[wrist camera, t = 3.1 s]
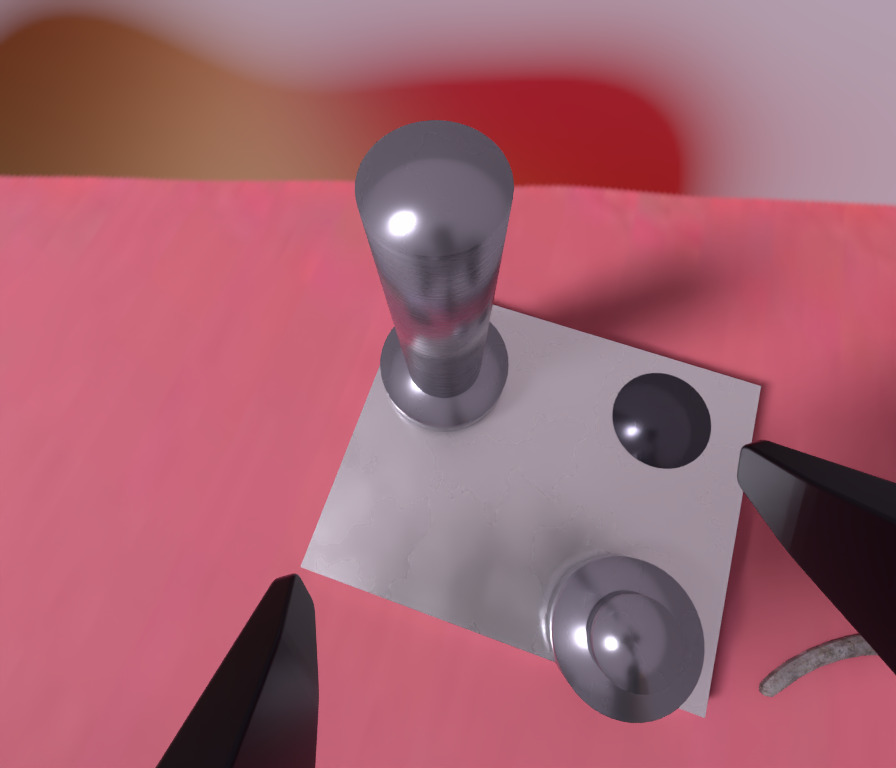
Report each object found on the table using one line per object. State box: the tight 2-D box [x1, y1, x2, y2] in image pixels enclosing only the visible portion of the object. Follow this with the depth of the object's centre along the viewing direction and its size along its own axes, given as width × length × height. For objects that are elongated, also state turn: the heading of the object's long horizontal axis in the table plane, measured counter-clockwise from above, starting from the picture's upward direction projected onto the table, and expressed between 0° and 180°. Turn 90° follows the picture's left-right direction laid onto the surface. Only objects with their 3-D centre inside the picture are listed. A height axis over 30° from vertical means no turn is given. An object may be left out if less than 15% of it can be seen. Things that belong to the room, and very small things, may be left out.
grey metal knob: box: [546, 554, 705, 723], centre depth 18 cm, size 6×6×2 cm
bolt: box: [355, 120, 514, 432], centre depth 16 cm, size 6×6×13 cm
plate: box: [301, 305, 761, 718], centre depth 21 cm, size 14×17×1 cm
